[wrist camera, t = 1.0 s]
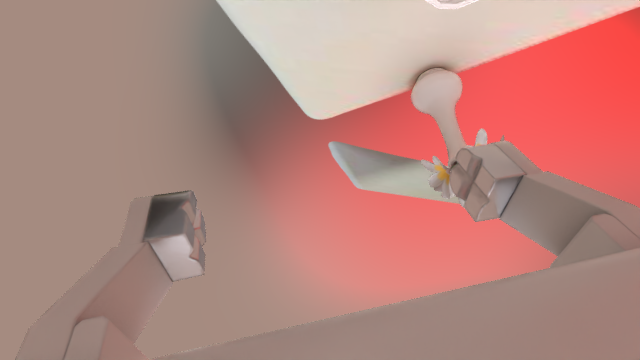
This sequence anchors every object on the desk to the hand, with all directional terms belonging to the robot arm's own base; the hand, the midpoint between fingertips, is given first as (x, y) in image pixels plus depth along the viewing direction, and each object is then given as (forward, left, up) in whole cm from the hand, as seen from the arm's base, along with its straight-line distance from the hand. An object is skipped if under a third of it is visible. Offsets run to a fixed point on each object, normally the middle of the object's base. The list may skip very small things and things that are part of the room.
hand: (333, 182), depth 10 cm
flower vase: (+43, +15, -41) cm, 61 cm away
